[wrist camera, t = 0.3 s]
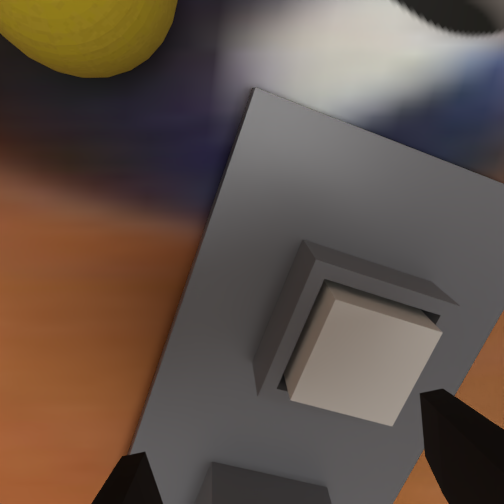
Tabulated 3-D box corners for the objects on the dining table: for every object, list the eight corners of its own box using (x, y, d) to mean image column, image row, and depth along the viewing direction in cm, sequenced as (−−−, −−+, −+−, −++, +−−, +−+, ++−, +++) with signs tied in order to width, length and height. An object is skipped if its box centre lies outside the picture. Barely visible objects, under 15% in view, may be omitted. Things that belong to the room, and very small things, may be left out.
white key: (419, 308, 19) (442, 332, 17) (375, 395, 20) (392, 426, 18) (322, 277, 18) (335, 299, 16) (282, 370, 19) (290, 400, 17)
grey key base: (538, 199, 21) (610, 221, 17) (309, 613, 29) (324, 692, 25) (252, 88, 18) (262, 85, 15) (85, 576, 26) (64, 657, 22)
